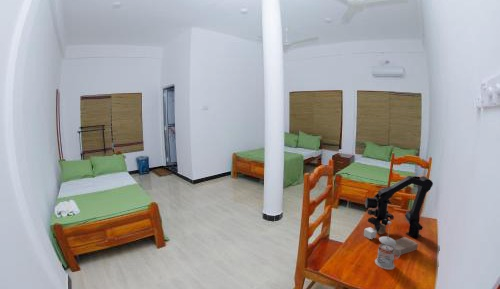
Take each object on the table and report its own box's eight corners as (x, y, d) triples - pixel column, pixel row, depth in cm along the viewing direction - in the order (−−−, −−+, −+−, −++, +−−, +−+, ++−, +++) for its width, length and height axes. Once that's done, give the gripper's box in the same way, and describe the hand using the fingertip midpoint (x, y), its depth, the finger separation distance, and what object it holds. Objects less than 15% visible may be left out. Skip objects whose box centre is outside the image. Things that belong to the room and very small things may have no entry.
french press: (377, 255, 149) (381, 215, 144) (400, 264, 142) (405, 221, 137) (372, 264, 142) (377, 222, 137) (396, 273, 134) (402, 229, 129)
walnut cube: (378, 229, 178) (379, 222, 177) (385, 232, 173) (386, 225, 172) (373, 230, 176) (374, 224, 175) (380, 234, 171) (381, 227, 170)
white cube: (369, 234, 172) (369, 227, 171) (375, 237, 168) (376, 230, 167) (363, 235, 170) (364, 228, 169) (370, 239, 165) (371, 232, 164)
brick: (397, 256, 149) (398, 249, 148) (385, 248, 156) (385, 241, 155) (417, 250, 155) (418, 243, 154) (404, 243, 162) (405, 236, 161)
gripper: (380, 201, 182) (378, 221, 186) (362, 206, 174) (360, 228, 177) (395, 207, 173) (392, 229, 176) (376, 213, 164) (374, 236, 167)
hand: (379, 230), depth 174 cm, fingers closed on walnut cube, 5 cm apart
